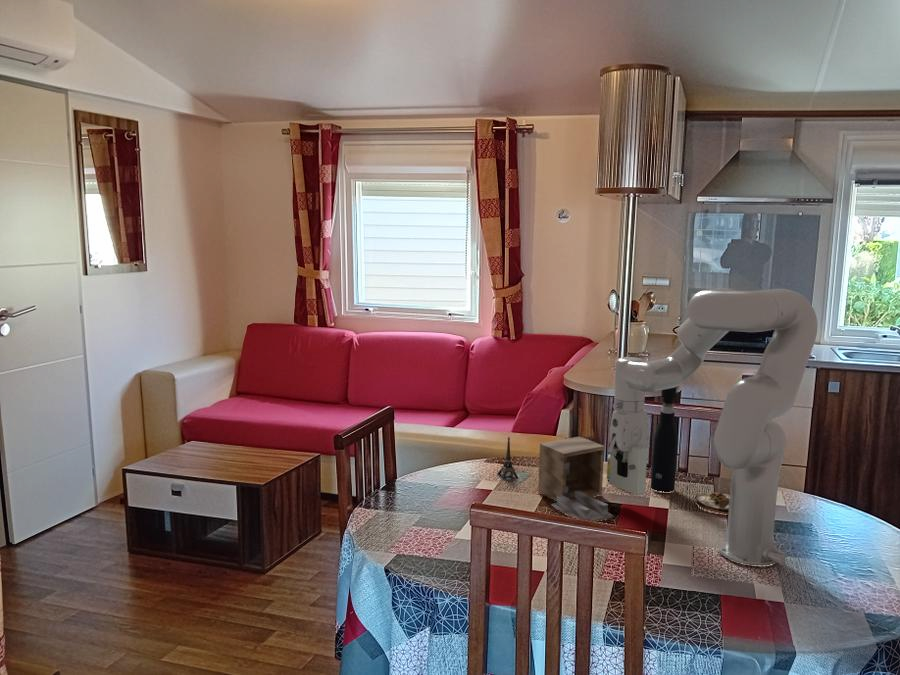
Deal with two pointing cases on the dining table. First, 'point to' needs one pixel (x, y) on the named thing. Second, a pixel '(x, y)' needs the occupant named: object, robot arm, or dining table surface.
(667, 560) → the dining table surface
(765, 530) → the robot arm
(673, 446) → the black water bottle
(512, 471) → the eiffel tower figurine
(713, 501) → the plate of food
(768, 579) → the dining table surface
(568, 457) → the cabinet
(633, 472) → the door panel
